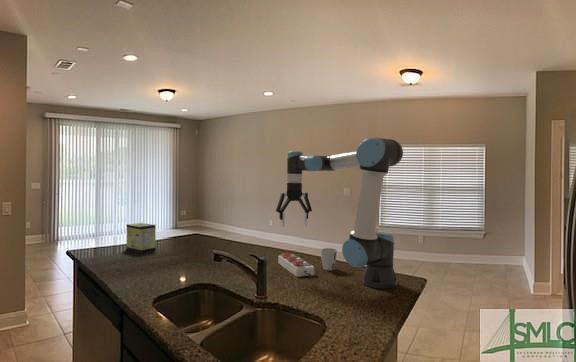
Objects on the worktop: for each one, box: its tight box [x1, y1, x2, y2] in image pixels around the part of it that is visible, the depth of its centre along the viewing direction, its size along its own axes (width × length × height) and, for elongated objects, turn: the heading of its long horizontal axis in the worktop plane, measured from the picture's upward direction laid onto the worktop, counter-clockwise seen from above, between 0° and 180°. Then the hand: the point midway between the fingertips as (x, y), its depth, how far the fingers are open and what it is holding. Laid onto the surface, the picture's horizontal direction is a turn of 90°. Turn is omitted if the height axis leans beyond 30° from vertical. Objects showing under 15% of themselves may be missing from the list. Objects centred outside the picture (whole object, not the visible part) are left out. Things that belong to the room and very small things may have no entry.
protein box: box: [126, 222, 157, 253], centre depth 245 cm, size 10×16×16 cm
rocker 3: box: [292, 261, 303, 264], centre depth 194 cm, size 5×4×2 cm
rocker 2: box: [287, 256, 298, 260], centre depth 203 cm, size 5×4×2 cm
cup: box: [320, 247, 338, 272], centre depth 203 cm, size 8×8×10 cm
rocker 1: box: [280, 252, 292, 256], centre depth 211 cm, size 5×4×2 cm
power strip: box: [277, 254, 315, 277], centre depth 201 cm, size 34×9×4 cm, turn 19°
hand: (293, 225), depth 200 cm, fingers open, 11 cm apart
